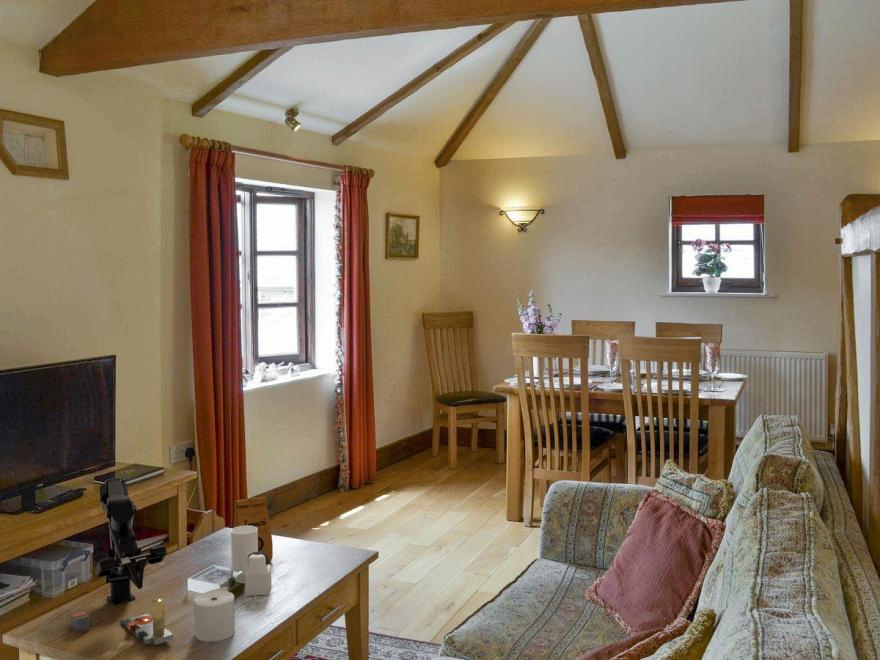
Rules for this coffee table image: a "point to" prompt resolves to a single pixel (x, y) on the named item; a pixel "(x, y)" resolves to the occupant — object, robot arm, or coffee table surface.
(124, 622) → the guide
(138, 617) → the rack
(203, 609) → the toilet tissue
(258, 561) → the medicine bottle
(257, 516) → the coffee package
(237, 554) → the white cylinder
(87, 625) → the grey and red block
